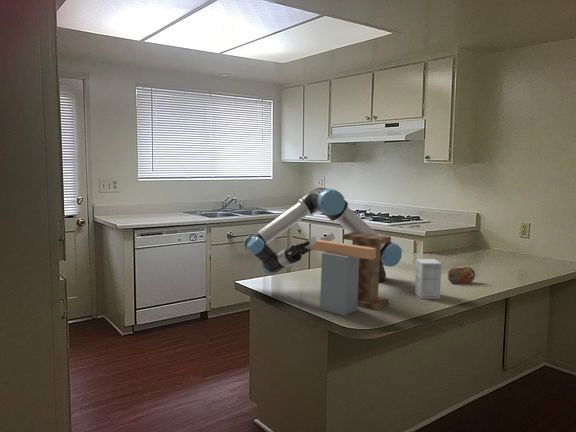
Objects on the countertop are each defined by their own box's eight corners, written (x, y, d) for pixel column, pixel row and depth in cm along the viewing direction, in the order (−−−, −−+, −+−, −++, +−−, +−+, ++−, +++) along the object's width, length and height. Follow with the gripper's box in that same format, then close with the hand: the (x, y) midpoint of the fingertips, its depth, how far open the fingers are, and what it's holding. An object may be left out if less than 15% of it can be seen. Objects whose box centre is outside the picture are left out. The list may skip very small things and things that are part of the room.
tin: (449, 284, 249) (450, 268, 248) (446, 282, 252) (447, 267, 251) (474, 283, 253) (475, 267, 252) (471, 281, 256) (472, 265, 255)
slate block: (320, 309, 203) (321, 253, 200) (333, 303, 211) (335, 249, 208) (344, 315, 196) (346, 257, 193) (357, 309, 203) (359, 253, 200)
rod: (308, 249, 208) (308, 239, 207) (313, 247, 211) (314, 238, 210) (370, 259, 190) (371, 249, 189) (375, 258, 193) (375, 248, 192)
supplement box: (433, 293, 231) (435, 258, 229) (440, 299, 222) (442, 263, 220) (413, 293, 231) (415, 258, 229) (419, 298, 222) (421, 262, 220)
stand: (339, 301, 215) (341, 234, 211) (353, 295, 224) (355, 231, 220) (375, 310, 204) (378, 239, 200) (388, 303, 213) (391, 236, 209)
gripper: (309, 259, 226) (343, 242, 213) (275, 268, 207) (311, 249, 194) (303, 244, 227) (337, 226, 215) (269, 252, 208) (304, 232, 195)
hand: (325, 237), depth 204 cm, fingers open, 13 cm apart
